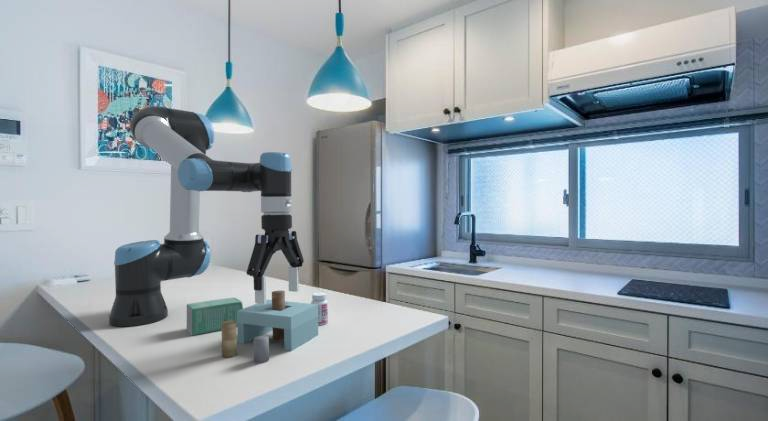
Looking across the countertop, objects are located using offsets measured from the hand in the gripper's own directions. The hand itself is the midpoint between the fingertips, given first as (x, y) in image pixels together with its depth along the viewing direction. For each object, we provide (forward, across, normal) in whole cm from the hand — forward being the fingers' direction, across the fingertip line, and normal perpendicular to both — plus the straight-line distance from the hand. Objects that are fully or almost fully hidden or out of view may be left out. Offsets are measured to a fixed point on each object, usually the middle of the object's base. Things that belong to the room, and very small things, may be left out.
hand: (278, 297), depth 101 cm
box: (+11, +2, +22) cm, 25 cm away
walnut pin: (+11, 0, 0) cm, 11 cm away
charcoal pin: (+11, -13, -5) cm, 18 cm away
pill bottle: (+11, +15, -3) cm, 19 cm away
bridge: (+11, 0, 0) cm, 11 cm away
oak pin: (+11, -13, +4) cm, 17 cm away
